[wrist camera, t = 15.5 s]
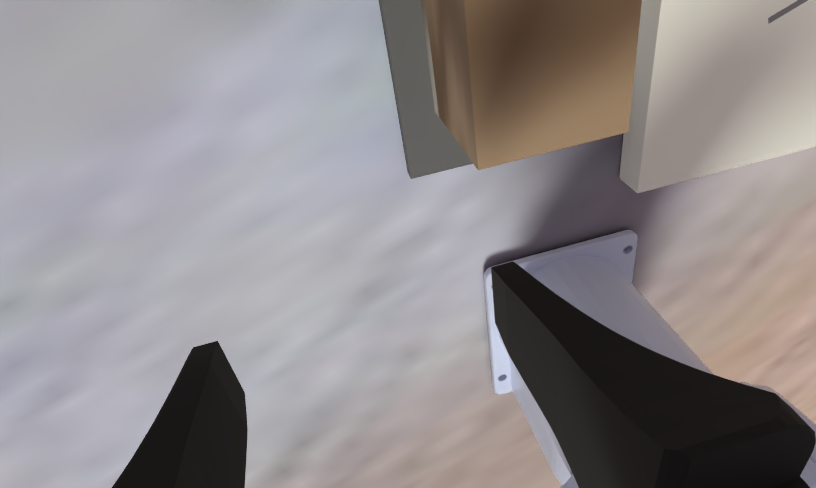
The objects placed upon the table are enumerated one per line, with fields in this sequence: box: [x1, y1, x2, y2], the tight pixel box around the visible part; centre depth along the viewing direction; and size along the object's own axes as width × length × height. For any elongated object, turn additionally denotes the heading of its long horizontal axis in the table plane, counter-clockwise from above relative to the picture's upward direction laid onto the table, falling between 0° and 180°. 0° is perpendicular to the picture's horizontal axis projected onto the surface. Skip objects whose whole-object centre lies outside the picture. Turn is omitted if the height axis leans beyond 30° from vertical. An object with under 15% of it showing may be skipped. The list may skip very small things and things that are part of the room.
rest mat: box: [379, 0, 473, 179], centre depth 19 cm, size 12×8×1 cm, turn 9°
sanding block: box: [421, 0, 642, 170], centre depth 17 cm, size 7×5×5 cm
